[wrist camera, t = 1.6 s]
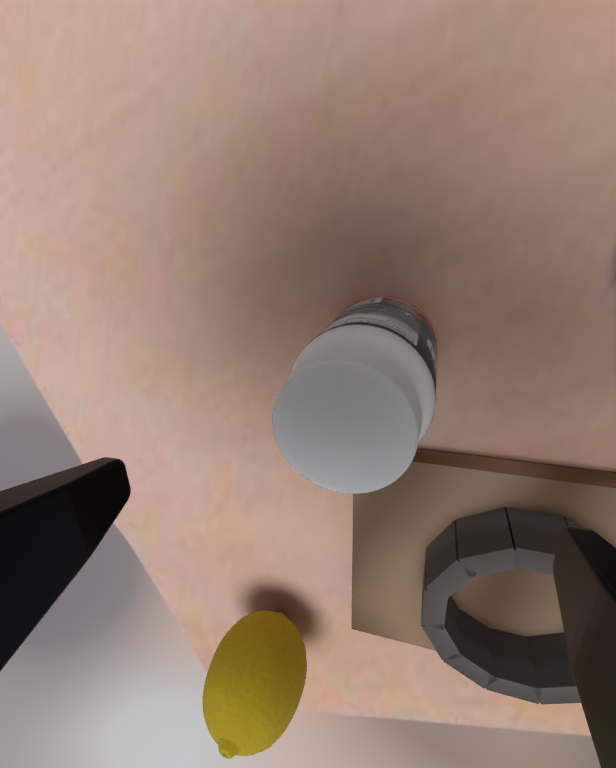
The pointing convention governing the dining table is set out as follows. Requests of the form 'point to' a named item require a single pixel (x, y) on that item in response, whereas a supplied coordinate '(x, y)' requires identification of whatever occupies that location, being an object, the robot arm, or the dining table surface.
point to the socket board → (432, 509)
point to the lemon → (254, 683)
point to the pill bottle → (359, 397)
